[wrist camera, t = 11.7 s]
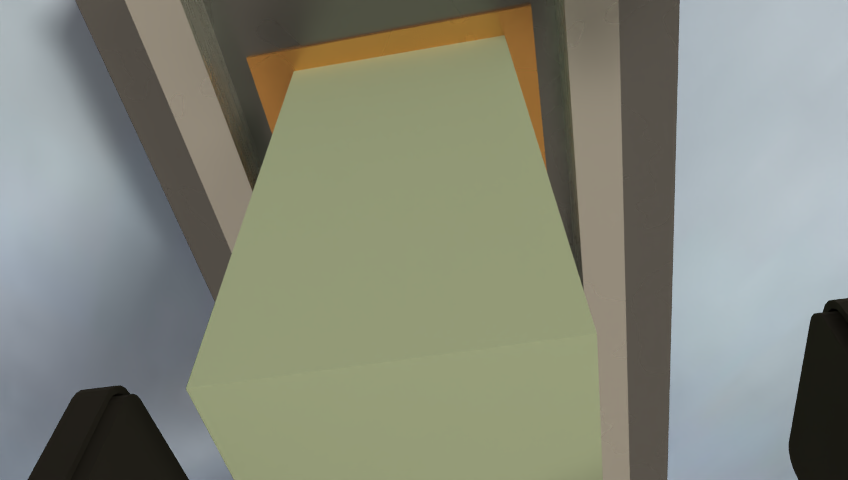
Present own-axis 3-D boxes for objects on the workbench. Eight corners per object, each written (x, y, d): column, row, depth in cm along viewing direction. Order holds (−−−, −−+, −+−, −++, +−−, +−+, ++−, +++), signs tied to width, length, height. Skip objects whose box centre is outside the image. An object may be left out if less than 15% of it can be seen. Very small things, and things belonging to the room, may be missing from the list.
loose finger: (504, 34, 15) (597, 333, 7) (527, 249, 18) (607, 604, 11) (293, 71, 15) (186, 388, 8) (352, 274, 18) (315, 634, 11)
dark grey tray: (659, -146, 14) (704, -123, 12) (654, 468, 26) (676, 536, 24) (96, -33, 15) (44, 7, 13) (331, 508, 27) (324, 577, 25)
